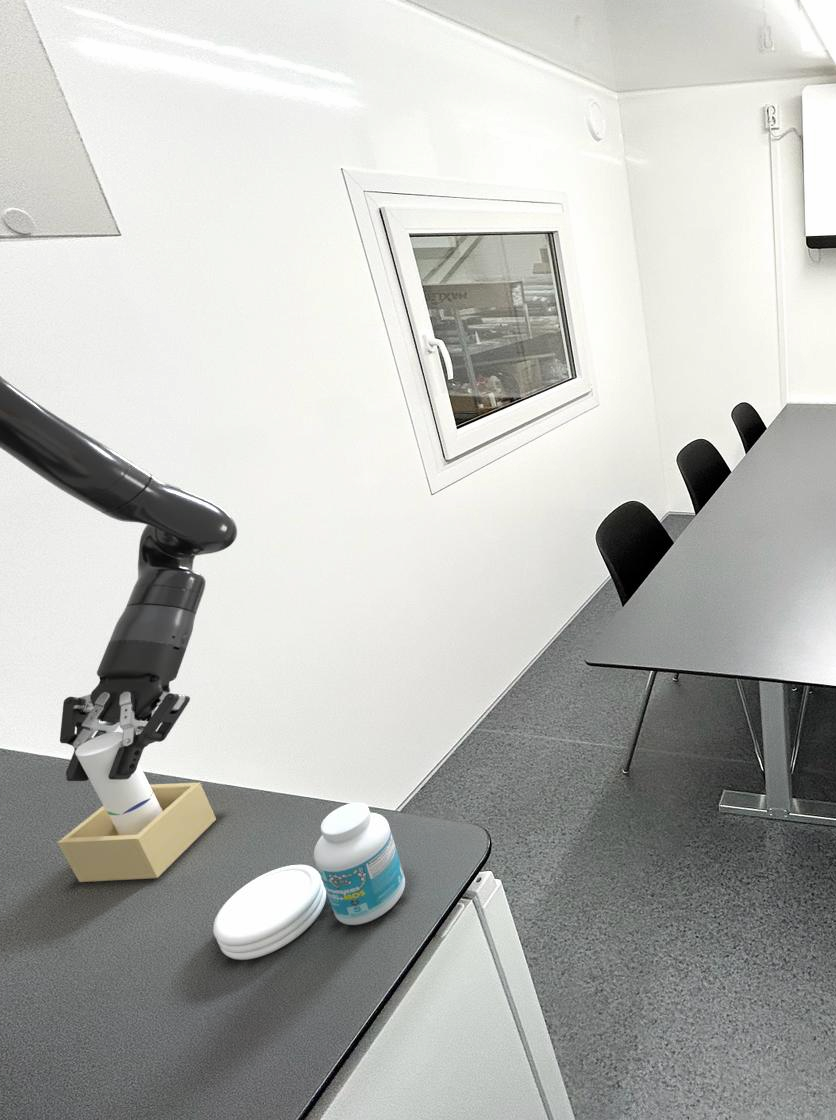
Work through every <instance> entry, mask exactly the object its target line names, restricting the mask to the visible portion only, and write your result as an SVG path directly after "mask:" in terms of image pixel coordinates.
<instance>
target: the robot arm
mask: <svg viewBox="0 0 836 1120" xmlns="http://www.w3.org/2000/svg"><path fill="white" fill-rule="evenodd" d="M0 449H1V450H3V451H5V452H6V453H7V454H8V455H10V456H11V457H13V458H14V459H16V461H18V462H20V463H21V464H22V465H24V466H25V467H27V468H28V469H30V470H31V471H32V472H34V473H35V474H37V475H38V476H40V478H43V479H44V480H46V481H47V482H48V483H50V484H51V485H53V486H55V487H56V488H58V489H59V490H61V491H62V492H64V493H66V494H67V495H69V496H71V497H72V498H75V499H76V500H78V501H80V502H82V503H83V504H85V505H87V506H89V507H90V508H93V509H94V510H96V511H97V512H99V513H101V514H103V515H105V516H107V517H109V518H111V519H114V520H116V521H120V522H124V523H125V522H126V523H138V524H143V525H146V526H145V527H144V529H143V531H142V533H141V534H140V535H141V536H140V539H139V545H138V556H137V557H138V559H137V580H136V582H135V584H134V586H133V588H132V590H131V593H130V596H129V597H128V601H127V603H126V605H125V608H124V610H123V612H122V613H121V615H120V617H119V618H118V620H117V622H116V624H115V626H114V629H113V631H112V634H111V636H110V639H109V640H108V643H107V646H106V648H105V650H104V654H103V655H102V659H101V661H100V663H99V665H98V668H97V671H96V675H97V677H98V678H99V682H98V684H97V685H96V687H94V689H93V690H92V691H91V692H90V694H86V695H84V696H80V697H76V696H68V697H66V698H65V699H64V700H63V705H62V714H61V722H60V723H61V724H60V725H61V726H60V734H59V743H60V744H67V745H68V746H72V747H73V749H74V750H73V753H72V756H71V758H70V760H69V764H68V766H67V768H66V771H65V776H66V778H65V779H66V781H67V782H86V781H88V780H89V778H88V776H87V774H86V772H85V771H84V769H83V767H82V765H81V763H80V761H79V759H78V758H77V756H76V754H75V751H76V749H77V748H78V747H79V746H81V745H82V744H83V743H85V742H87V741H89V740H91V739H93V738H95V737H97V736H100V735H103V734H107V733H111V732H116V730H117V729H118V728H121V730H122V733H123V738H122V745H123V746H124V747H120V748H119V749H118V751H117V754H116V757H115V760H114V762H113V765H112V768H111V770H110V773H109V776H108V777H109V779H114V780H123V779H129V778H130V777H131V775H132V774H133V773H134V772H135V771H136V769H137V766H138V763H139V762H140V760H141V757H142V754H143V752H144V750H145V748H146V747H148V746H149V745H150V744H153V743H157V742H158V743H160V742H163V741H165V739H166V738H167V737H168V735H169V734H170V732H171V730H172V729H173V728H174V726H175V725H176V723H177V722H178V720H179V718H180V716H181V715H182V714H183V712H184V710H185V709H186V707H187V706H188V704H189V702H190V701H191V698H190V696H189V695H185V694H179V693H173V692H171V688H170V683H171V682H172V681H174V680H176V679H177V677H178V674H179V671H180V668H181V665H182V663H183V660H184V657H185V655H186V651H187V648H188V646H189V642H190V640H191V637H192V634H193V631H194V625H195V621H196V615H197V612H198V609H199V607H200V604H201V601H202V599H203V596H204V593H205V590H206V583H207V581H206V578H205V577H204V575H202V574H201V573H199V572H197V571H195V570H193V568H194V561H195V558H196V556H201V555H209V554H214V553H219V552H221V551H222V552H223V551H224V550H226V549H228V548H229V547H231V546H232V545H233V544H234V542H236V539H237V536H238V526H237V524H236V522H235V520H234V518H233V517H232V516H231V515H230V514H229V513H228V512H227V511H226V510H225V509H224V508H222V507H221V506H219V505H218V504H216V503H214V502H212V501H210V500H209V499H206V498H203V497H201V496H199V495H196V494H194V493H193V492H189V491H187V490H185V489H183V488H181V487H177V486H175V485H171V484H169V483H167V482H164V481H163V480H160V479H159V478H157V477H156V476H154V475H153V474H152V473H150V472H148V471H147V470H145V469H144V468H143V467H141V466H139V465H137V464H136V463H135V462H133V461H132V460H130V459H128V458H127V457H125V456H123V455H122V454H120V453H118V452H117V451H115V450H113V449H112V448H110V447H109V446H107V445H105V444H103V443H102V442H100V441H99V440H97V439H95V438H93V437H92V436H90V435H89V434H87V433H86V432H84V431H82V430H80V429H79V428H77V427H75V426H74V425H73V424H70V423H69V422H67V421H65V420H64V419H62V418H60V417H59V416H57V415H56V414H55V413H53V412H51V411H49V410H48V409H47V408H45V407H43V406H42V405H41V404H39V403H38V402H36V401H34V399H32V398H31V397H29V396H27V394H25V393H24V392H22V391H21V390H19V389H18V388H17V387H15V386H14V385H13V384H11V383H10V382H9V381H7V380H6V379H5V378H3V377H2V376H1V375H0ZM99 721H100V722H99ZM139 764H140V763H139Z"/></svg>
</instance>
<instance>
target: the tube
mask: <svg viewBox="0 0 836 1120" xmlns="http://www.w3.org/2000/svg"><path fill="white" fill-rule="evenodd" d="M92 738H93V737H92ZM122 738H123V731H113V732H111V733H107V734H103V735H100V736H97V737H95V738H93V739H91V740H89V741H87V742H85V743H83V744H82V745H81V746H79V747H78V748H77V749H76V751H75V754H76V756H77V758H78V759H79V761H80V763H81V765H82V767H83V769H84V771H85V772H86V774H87V776H88V778H89V779H88V780H89V781H90V784H91V785H92V787H93V789H94V791H95V793H96V795H97V796H98V798H99V800H100V802H101V804H102V806H104V808H105V809H106V811H107V813H108V815H109V817H110V819H111V821H112V822H113V824H114V826H115V828H116V830H117V832H118V833H119V835H137V834H138V833H139V832H140V831H142V830H143V829H144V828H145V827H146V826H147V825H148V824H149V823H151V822H152V821H153V820H154V819H155V818H156V817H157V816H158V815H159V814H161V813H162V812H163V811H162V809H161V807H160V805H159V803H158V801H157V799H156V797H155V795H154V793H153V791H152V789H151V787H150V785H151V784H150V783H149V781H148V778H147V777H146V775H145V773H144V770H143V769H142V766H141V765H140V763H138V766H137V769H136V771H135V772H134V773H133V774H132V775H131V777H130V778H129V779H123V780H114V779H109V777H108V776H109V773H110V770H111V768H112V765H113V762H114V760H115V757H116V754H117V751H118V749H119V748H120V747H124V746H123V745H122Z"/></svg>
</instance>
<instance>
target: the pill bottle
mask: <svg viewBox="0 0 836 1120" xmlns="http://www.w3.org/2000/svg"><path fill="white" fill-rule="evenodd" d="M320 831H321V836H320V838H319V839H318V840H317V842H316V844H315V847H314V850H313V859H314V862H315V865H316V868H317V871H318V873H319V874H320V876H321V880H322V881H323V884H324V887H325V889H326V896H327V897H328V901H329V904H330V906H331V909H332V911H333V915H334V917H335V918H336V919H337V921H339V922H340V923H341V924H343V925H348V926H357V925H363V924H367V923H369V922H372V921H374V920H376V919H378V918H379V917H381V916H383V915H384V914H386V913H387V912H388V911H389V910H391V909H392V908H393V907H394V906H395V905H396V904H397V902H399V900H400V898H401V897H402V895H403V893H404V890H405V886H406V877H405V874H404V871H403V867H402V864H401V861H400V857H399V853H398V850H397V847H396V844H395V840H394V838H393V833H392V830H391V827H390V824H389V822H388V820H387V819H386V818H385V817H384V816H383V815H381V814H379V813H376V812H371V811H370V808H369V806H368V805H367V804H366V803H364V802H350V803H347V804H344V805H342V806H339V807H338V808H336V809H334V810H333V811H331V812H330V813H329V814H327V815H326V816H325V818H324V819H323V820H322V822H321V824H320Z"/></svg>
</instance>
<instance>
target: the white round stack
mask: <svg viewBox="0 0 836 1120" xmlns="http://www.w3.org/2000/svg"><path fill="white" fill-rule="evenodd" d="M326 901H327V892H326V889H325V887H324V884H323V881H322V879H321V876H320V873H319V870H318V869H316V868H315V867H313V866H311V865H308V864H307V865H306V864H293V865H292V864H291V865H287V866H282V867H279V868H275V869H272V870H270V871H268V872H266V873H264V874H261V875H259V876H257V877H256V878H254V879H253V880H251V881H249V882H248V883H246V884H245V885H244V886H242V887H241V888H239V889H238V890H237V891H235V892H234V894H233V895H232V896H230V898H228V900H226V902H225V903H224V904H223V905H222V907H221V908H220V909H219V911H218V912H217V914H216V916H215V918H214V922H213V925H212V927H213V928H212V933H213V936H214V938H215V939H216V942H217V944H218V946H219V949H220V950H221V952H222V953H223V955H225V956H227V957H228V958H231V959H233V960H238V961H245V960H253V959H257V958H260V957H264V956H266V955H269V954H271V953H274V952H275V951H277V950H279V949H282V948H283V947H285V946H286V945H288V944H289V943H291V942H292V941H294V940H295V939H297V938H298V937H300V935H302V934H303V933H304V932H305V931H306V930H307V929H308V928H309V927H311V926H312V924H313V923H314V922H315V921H316V920H317V919H318V918H319V916H320V914H321V912H322V911H323V909H324V907H325V904H326Z"/></svg>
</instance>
